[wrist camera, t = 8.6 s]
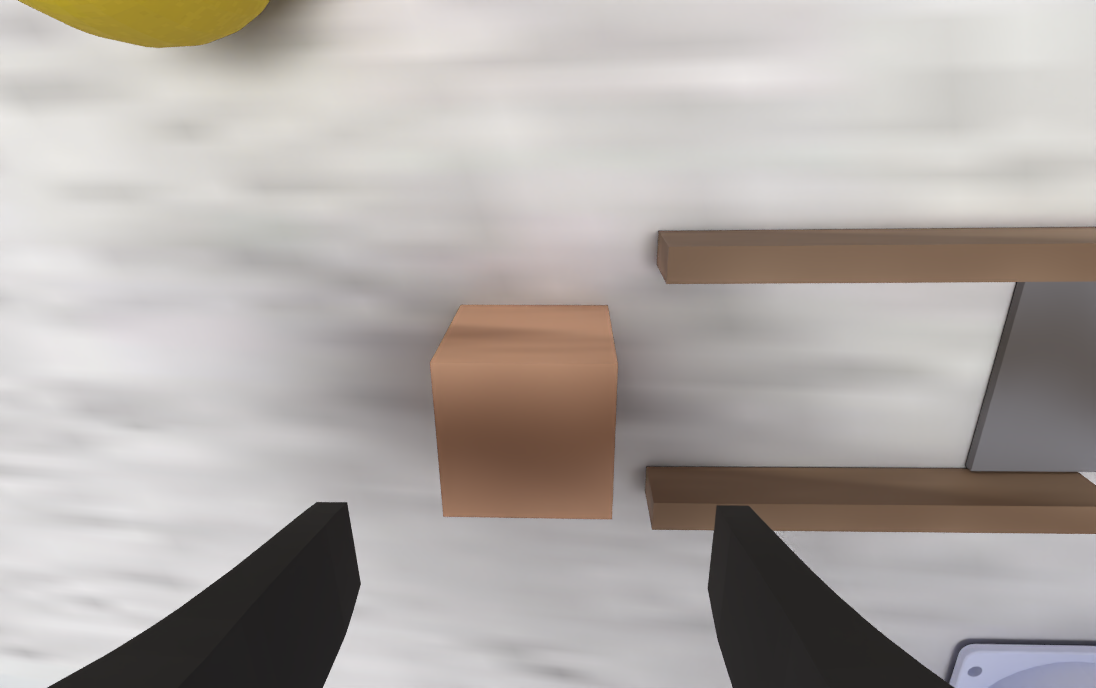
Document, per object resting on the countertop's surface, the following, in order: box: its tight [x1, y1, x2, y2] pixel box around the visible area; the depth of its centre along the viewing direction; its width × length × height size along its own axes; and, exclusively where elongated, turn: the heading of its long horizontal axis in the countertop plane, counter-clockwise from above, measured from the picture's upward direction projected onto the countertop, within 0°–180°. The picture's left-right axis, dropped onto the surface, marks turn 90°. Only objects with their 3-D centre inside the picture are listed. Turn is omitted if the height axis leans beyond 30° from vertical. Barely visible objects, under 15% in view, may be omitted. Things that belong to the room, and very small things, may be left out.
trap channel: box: [645, 227, 1096, 534], centre depth 18 cm, size 9×16×2 cm, turn 91°
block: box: [430, 305, 618, 519], centre depth 18 cm, size 4×4×4 cm
